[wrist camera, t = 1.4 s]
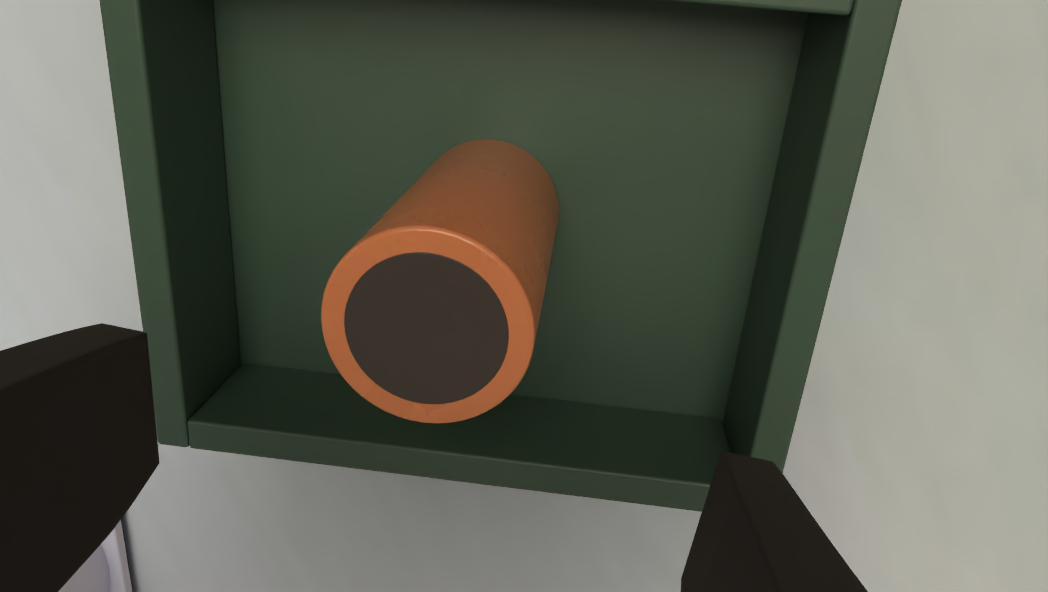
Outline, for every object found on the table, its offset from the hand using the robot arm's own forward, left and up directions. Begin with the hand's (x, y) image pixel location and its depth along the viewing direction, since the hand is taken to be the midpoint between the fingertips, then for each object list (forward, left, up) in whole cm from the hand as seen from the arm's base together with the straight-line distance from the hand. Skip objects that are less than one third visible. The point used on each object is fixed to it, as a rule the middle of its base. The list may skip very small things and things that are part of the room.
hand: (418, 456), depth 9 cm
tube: (0, 0, -10) cm, 10 cm away
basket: (0, 0, -10) cm, 10 cm away
